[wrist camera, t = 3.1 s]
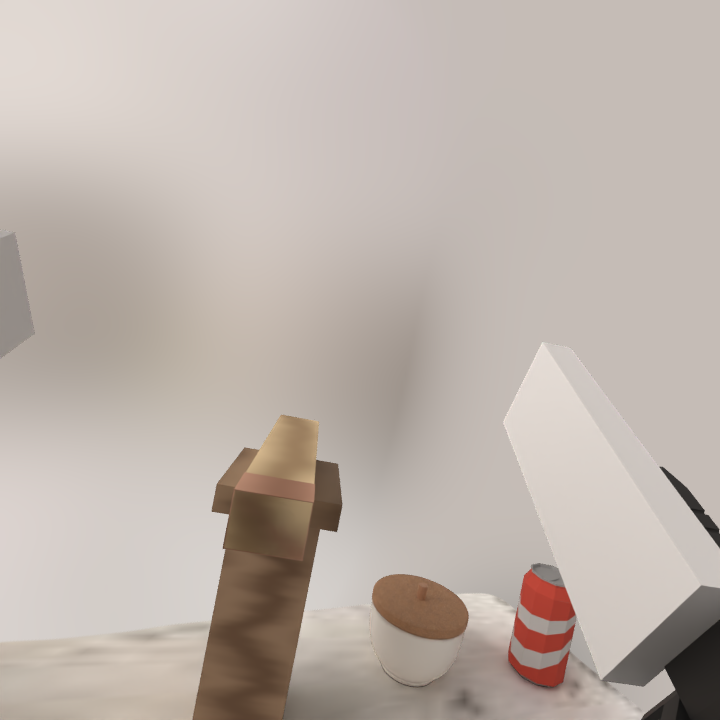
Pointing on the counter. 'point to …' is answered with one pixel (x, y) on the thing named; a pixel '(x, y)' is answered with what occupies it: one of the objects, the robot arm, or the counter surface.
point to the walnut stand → (259, 611)
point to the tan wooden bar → (276, 493)
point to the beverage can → (542, 627)
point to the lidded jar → (416, 628)
